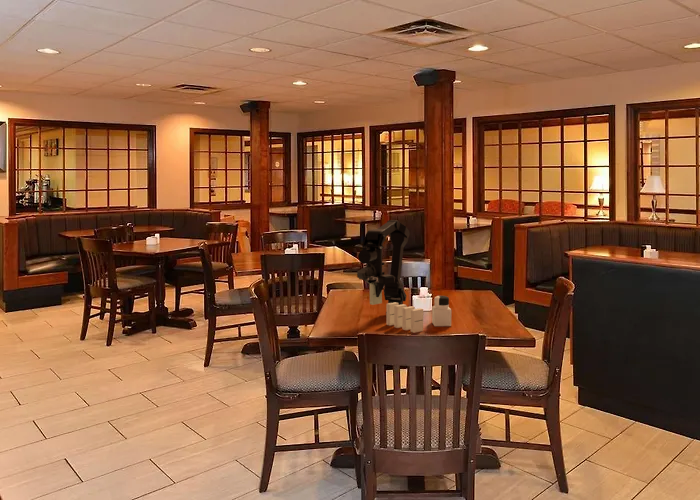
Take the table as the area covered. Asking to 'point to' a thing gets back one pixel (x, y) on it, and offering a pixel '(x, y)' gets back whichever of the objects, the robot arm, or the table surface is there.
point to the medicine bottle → (441, 311)
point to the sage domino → (374, 295)
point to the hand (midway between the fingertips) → (375, 296)
